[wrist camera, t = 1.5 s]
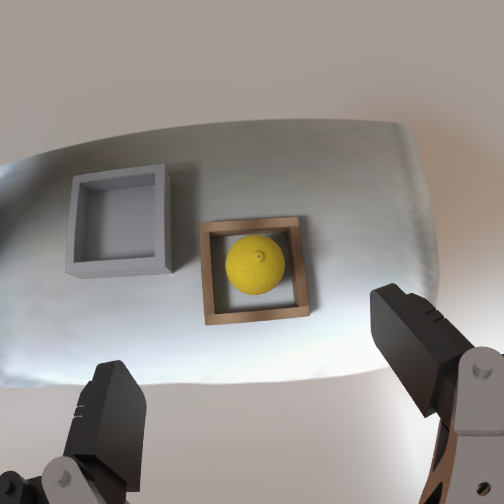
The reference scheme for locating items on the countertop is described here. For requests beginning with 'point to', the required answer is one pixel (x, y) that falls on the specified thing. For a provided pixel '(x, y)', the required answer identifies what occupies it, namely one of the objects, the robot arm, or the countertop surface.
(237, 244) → the lemon
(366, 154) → the countertop surface
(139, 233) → the holder
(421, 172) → the countertop surface
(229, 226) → the cradle
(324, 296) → the countertop surface
